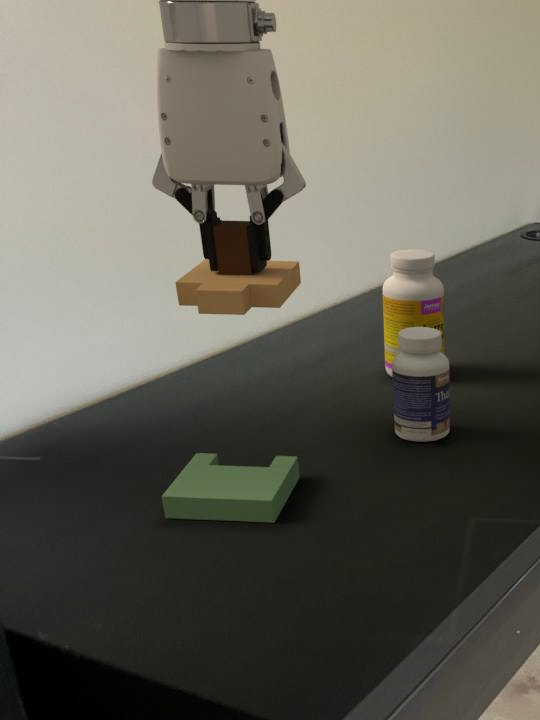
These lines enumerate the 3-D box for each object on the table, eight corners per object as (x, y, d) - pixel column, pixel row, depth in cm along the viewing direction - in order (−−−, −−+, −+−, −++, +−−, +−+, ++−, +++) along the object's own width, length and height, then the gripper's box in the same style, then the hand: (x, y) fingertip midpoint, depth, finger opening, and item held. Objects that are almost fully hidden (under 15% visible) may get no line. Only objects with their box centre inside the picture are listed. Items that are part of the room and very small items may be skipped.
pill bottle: (446, 444, 94) (445, 342, 88) (390, 442, 94) (386, 339, 89) (452, 424, 98) (452, 325, 93) (399, 422, 98) (395, 323, 93)
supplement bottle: (424, 386, 107) (421, 263, 100) (374, 376, 110) (368, 255, 103) (455, 370, 112) (455, 251, 105) (407, 360, 115) (403, 244, 108)
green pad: (165, 518, 80) (161, 496, 79) (199, 473, 87) (196, 452, 86) (274, 523, 79) (272, 500, 78) (299, 477, 87) (297, 456, 86)
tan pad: (169, 313, 84) (157, 239, 81) (207, 281, 94) (198, 213, 91) (273, 315, 84) (266, 241, 81) (301, 283, 94) (295, 215, 90)
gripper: (321, 29, 82) (336, 261, 92) (127, 26, 82) (163, 257, 92) (303, 31, 75) (321, 280, 85) (92, 28, 76) (135, 276, 86)
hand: (239, 266), depth 89 cm, fingers closed on tan pad, 3 cm apart
